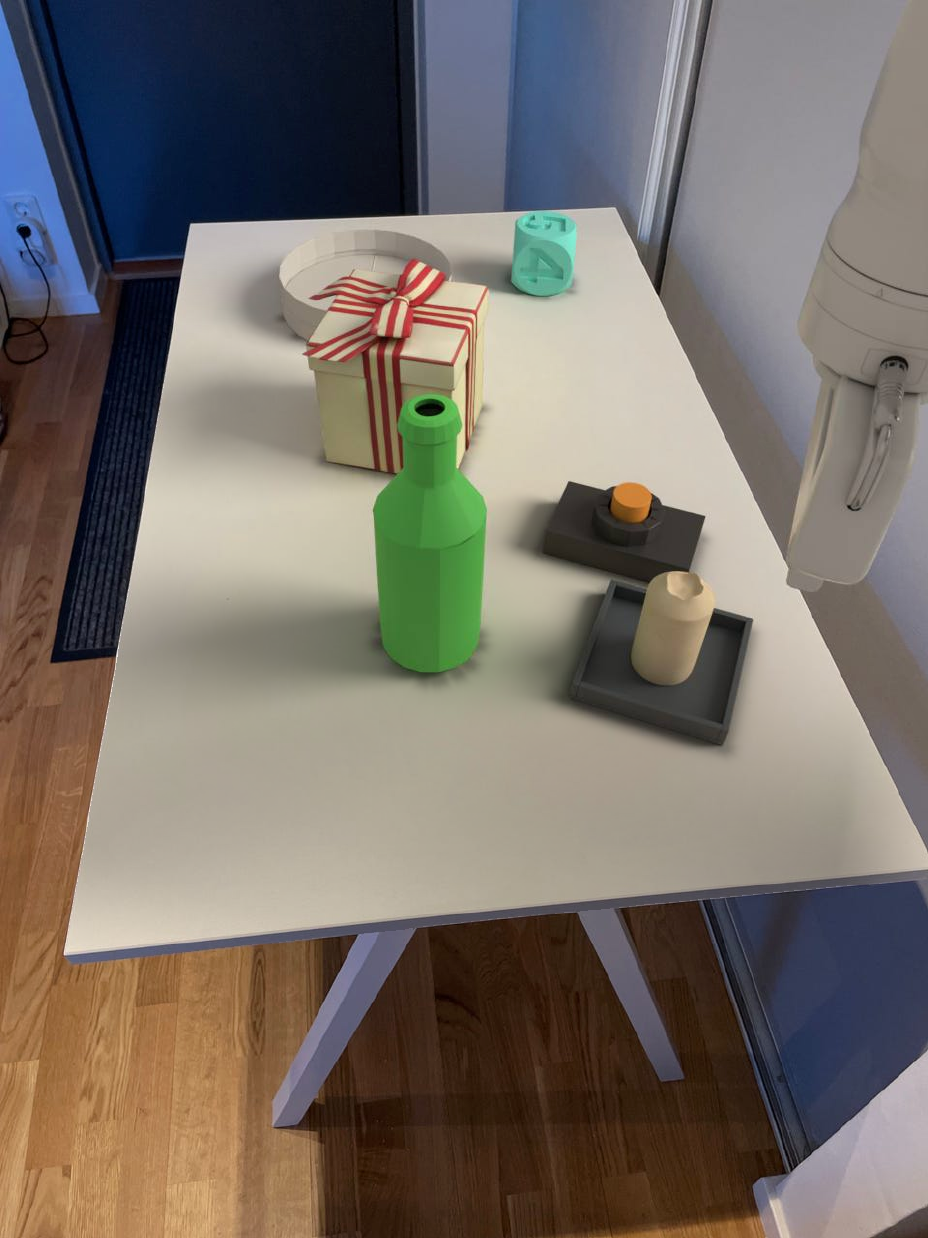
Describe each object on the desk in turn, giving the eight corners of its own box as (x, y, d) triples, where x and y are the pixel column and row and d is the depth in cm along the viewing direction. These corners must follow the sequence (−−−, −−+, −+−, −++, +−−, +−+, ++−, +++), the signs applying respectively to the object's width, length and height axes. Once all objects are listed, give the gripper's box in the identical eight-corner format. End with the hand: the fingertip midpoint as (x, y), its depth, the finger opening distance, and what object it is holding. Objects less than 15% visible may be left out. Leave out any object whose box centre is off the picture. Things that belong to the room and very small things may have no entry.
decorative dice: (570, 298, 123) (577, 240, 117) (510, 294, 123) (514, 236, 117) (570, 268, 128) (576, 211, 122) (512, 265, 128) (516, 208, 122)
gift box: (330, 383, 108) (316, 241, 95) (485, 400, 107) (492, 258, 94) (290, 475, 97) (268, 328, 84) (463, 495, 96) (467, 349, 83)
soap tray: (748, 633, 84) (753, 618, 82) (722, 746, 76) (728, 732, 74) (608, 593, 87) (611, 578, 85) (568, 698, 79) (571, 684, 77)
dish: (297, 260, 127) (293, 225, 124) (456, 267, 127) (457, 232, 124) (268, 348, 113) (262, 311, 109) (447, 357, 113) (448, 320, 109)
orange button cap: (651, 504, 89) (655, 487, 87) (643, 527, 86) (646, 511, 85) (615, 494, 89) (618, 478, 88) (605, 517, 87) (609, 501, 86)
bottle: (459, 595, 86) (466, 362, 68) (494, 662, 81) (513, 430, 62) (368, 618, 84) (350, 385, 65) (399, 690, 79) (388, 458, 60)
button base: (699, 537, 92) (710, 500, 88) (683, 591, 87) (694, 554, 83) (565, 502, 95) (570, 464, 92) (542, 553, 90) (547, 514, 86)
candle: (617, 659, 81) (636, 580, 73) (657, 628, 83) (679, 549, 76) (666, 697, 78) (690, 619, 71) (706, 664, 81) (733, 585, 73)
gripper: (973, 455, 36) (852, 673, 46) (974, 229, 49) (879, 440, 59) (809, 417, 37) (727, 638, 48) (852, 207, 50) (780, 417, 60)
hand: (811, 527), depth 53 cm, fingers open, 8 cm apart
